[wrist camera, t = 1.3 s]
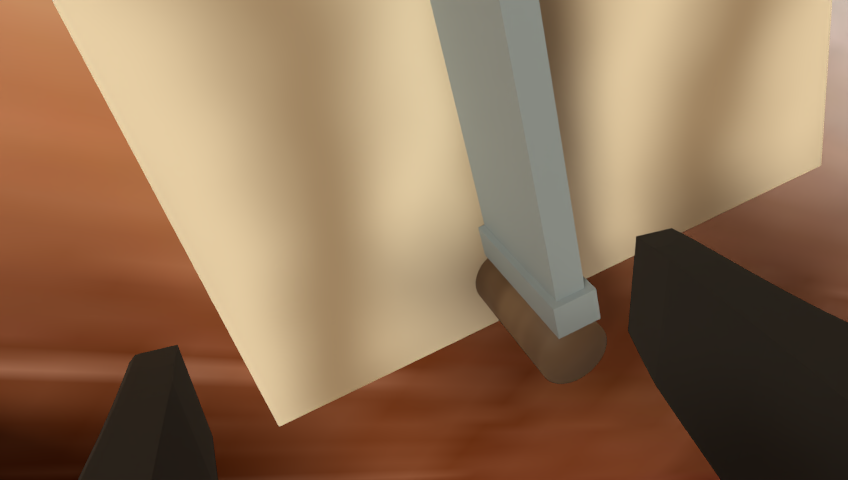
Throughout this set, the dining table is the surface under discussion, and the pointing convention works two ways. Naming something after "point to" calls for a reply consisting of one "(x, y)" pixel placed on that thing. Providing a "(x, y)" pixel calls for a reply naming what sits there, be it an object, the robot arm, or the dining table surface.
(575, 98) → the beige base plate
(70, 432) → the dining table surface
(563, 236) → the grey flat bar
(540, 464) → the dining table surface
